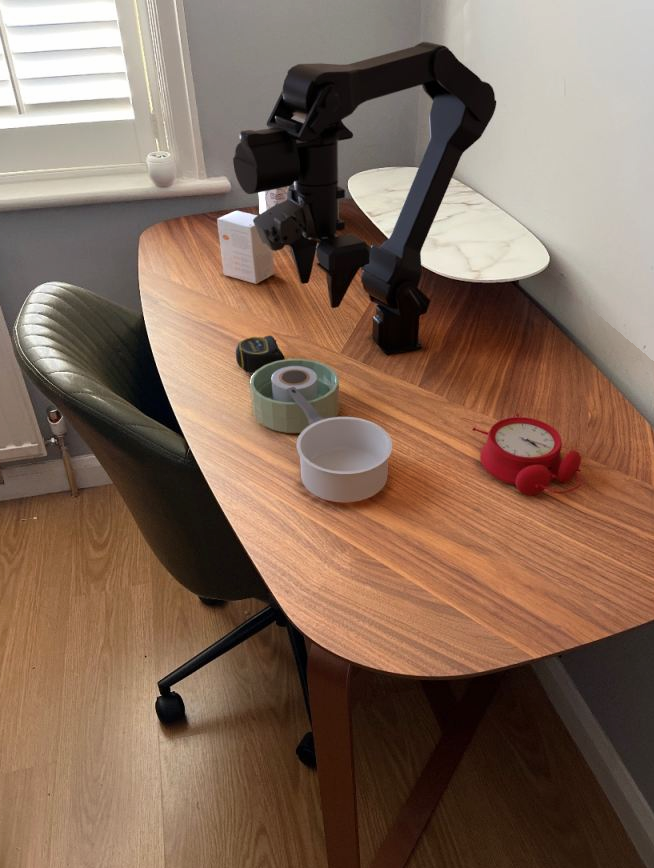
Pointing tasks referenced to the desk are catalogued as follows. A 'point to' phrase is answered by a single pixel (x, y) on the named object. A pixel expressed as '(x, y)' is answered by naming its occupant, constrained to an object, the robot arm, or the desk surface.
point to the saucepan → (341, 455)
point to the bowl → (289, 413)
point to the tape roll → (294, 383)
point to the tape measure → (257, 353)
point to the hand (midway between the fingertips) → (319, 294)
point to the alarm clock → (528, 455)
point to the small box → (243, 248)
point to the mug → (272, 198)
